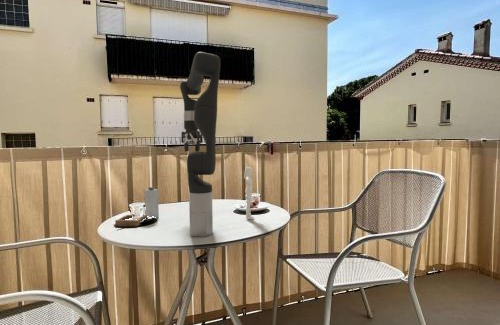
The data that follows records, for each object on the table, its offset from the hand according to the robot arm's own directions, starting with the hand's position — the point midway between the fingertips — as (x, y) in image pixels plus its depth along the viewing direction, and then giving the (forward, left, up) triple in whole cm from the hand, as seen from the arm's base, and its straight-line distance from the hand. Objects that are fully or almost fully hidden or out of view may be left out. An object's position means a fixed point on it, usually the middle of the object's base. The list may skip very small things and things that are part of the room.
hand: (191, 151), depth 162 cm
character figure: (-13, -32, -32) cm, 47 cm away
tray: (-25, +21, -32) cm, 46 cm away
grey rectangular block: (-15, +16, -32) cm, 39 cm away
